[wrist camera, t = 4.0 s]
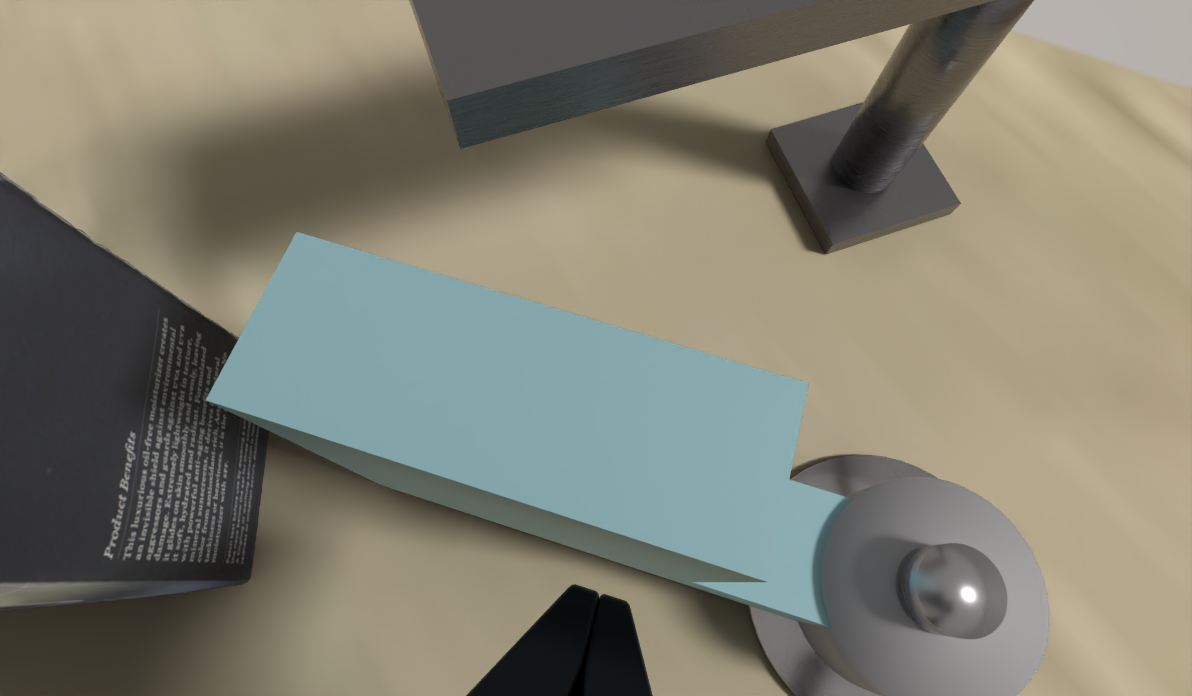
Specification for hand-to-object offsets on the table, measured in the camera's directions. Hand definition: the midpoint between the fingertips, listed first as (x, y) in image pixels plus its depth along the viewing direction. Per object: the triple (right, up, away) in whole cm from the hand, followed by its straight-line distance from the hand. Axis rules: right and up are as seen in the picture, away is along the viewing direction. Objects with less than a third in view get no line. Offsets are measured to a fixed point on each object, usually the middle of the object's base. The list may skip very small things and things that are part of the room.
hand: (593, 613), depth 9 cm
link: (+2, -1, +8) cm, 8 cm away
